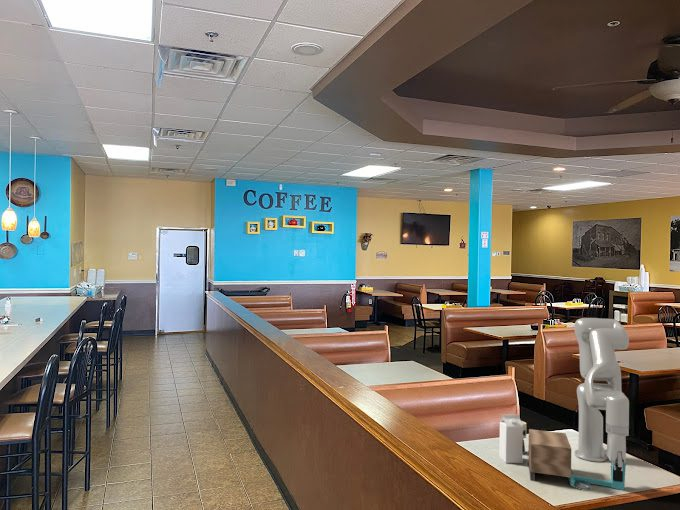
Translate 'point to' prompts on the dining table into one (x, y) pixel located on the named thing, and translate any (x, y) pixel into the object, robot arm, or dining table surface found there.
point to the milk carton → (511, 439)
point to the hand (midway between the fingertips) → (616, 478)
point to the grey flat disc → (582, 484)
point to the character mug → (524, 434)
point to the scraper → (601, 482)
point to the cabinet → (549, 453)
